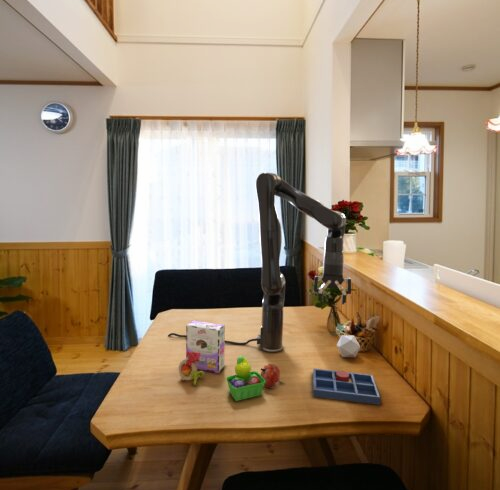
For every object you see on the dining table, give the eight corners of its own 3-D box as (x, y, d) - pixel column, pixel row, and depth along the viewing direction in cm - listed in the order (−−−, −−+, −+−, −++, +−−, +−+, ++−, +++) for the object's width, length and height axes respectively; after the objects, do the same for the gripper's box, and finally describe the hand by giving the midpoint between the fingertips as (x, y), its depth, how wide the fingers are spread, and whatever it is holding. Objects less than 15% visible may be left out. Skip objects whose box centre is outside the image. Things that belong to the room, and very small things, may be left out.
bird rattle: (179, 390, 119) (202, 385, 116) (168, 359, 119) (190, 353, 117) (188, 381, 125) (209, 375, 122) (177, 352, 125) (198, 345, 123)
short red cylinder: (336, 384, 120) (336, 376, 120) (335, 377, 125) (335, 370, 125) (349, 385, 120) (349, 377, 120) (348, 379, 124) (348, 371, 124)
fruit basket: (233, 404, 108) (234, 369, 108) (224, 389, 116) (224, 357, 116) (265, 396, 113) (266, 363, 112) (254, 383, 121) (255, 351, 120)
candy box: (224, 366, 132) (225, 324, 131) (218, 374, 126) (219, 330, 126) (192, 360, 137) (193, 319, 136) (185, 367, 131) (185, 324, 130)
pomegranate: (273, 383, 125) (252, 369, 123) (286, 368, 124) (265, 353, 123) (277, 398, 118) (254, 382, 116) (291, 382, 117) (268, 366, 115)
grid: (313, 396, 114) (313, 389, 114) (313, 374, 128) (313, 368, 128) (380, 404, 110) (380, 397, 110) (372, 381, 124) (372, 374, 124)
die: (355, 364, 138) (366, 342, 140) (335, 351, 139) (347, 329, 142) (349, 362, 146) (360, 341, 148) (330, 350, 147) (341, 329, 150)
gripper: (351, 261, 137) (349, 301, 138) (314, 259, 140) (313, 298, 141) (353, 265, 130) (351, 307, 131) (314, 263, 132) (313, 304, 133)
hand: (331, 303), depth 136 cm, fingers open, 8 cm apart
